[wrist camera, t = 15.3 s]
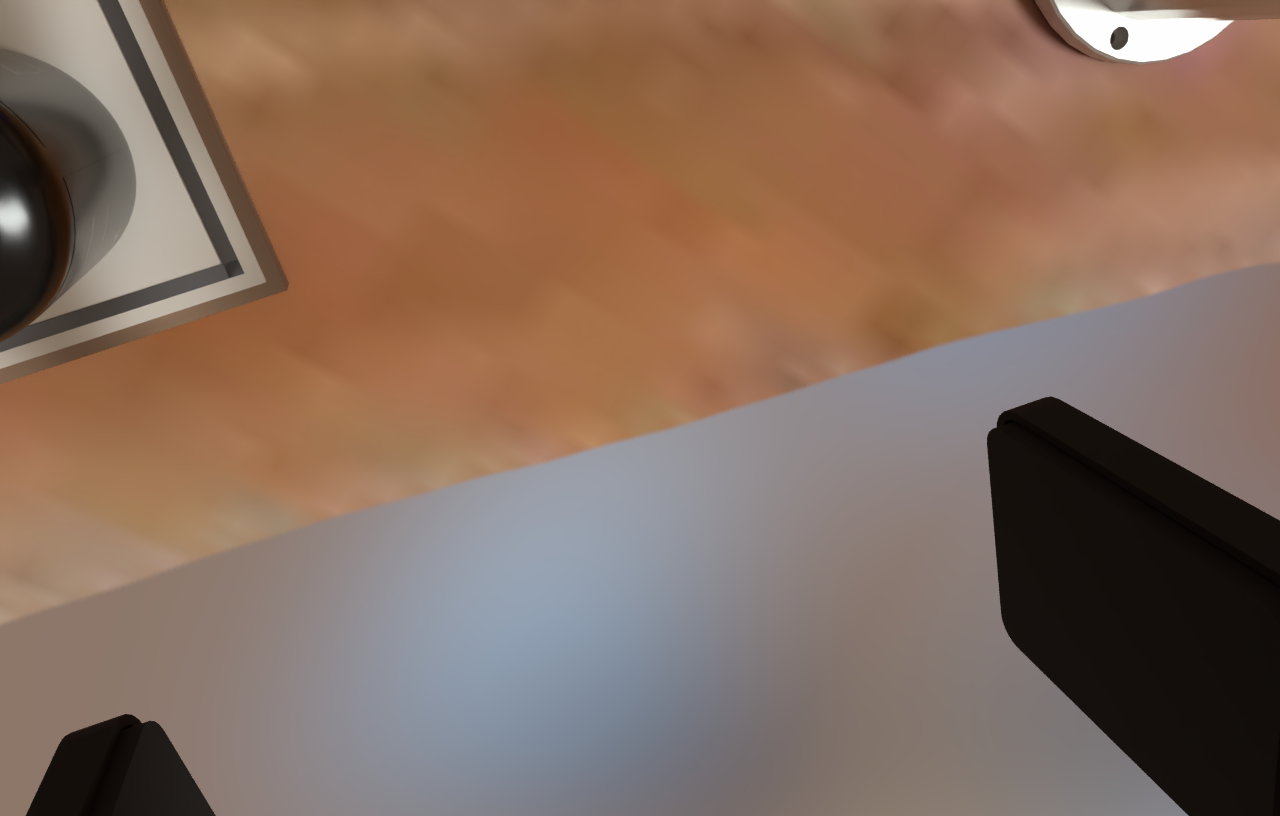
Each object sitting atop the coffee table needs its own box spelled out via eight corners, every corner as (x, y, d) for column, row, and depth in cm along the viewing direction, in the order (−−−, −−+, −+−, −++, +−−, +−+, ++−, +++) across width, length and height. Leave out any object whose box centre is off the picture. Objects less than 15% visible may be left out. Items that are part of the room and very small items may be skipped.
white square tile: (121, -94, 27) (111, -100, 26) (288, 283, 32) (286, 291, 31) (-320, 19, 25) (-351, 17, 24) (-70, 400, 30) (-86, 414, 29)
